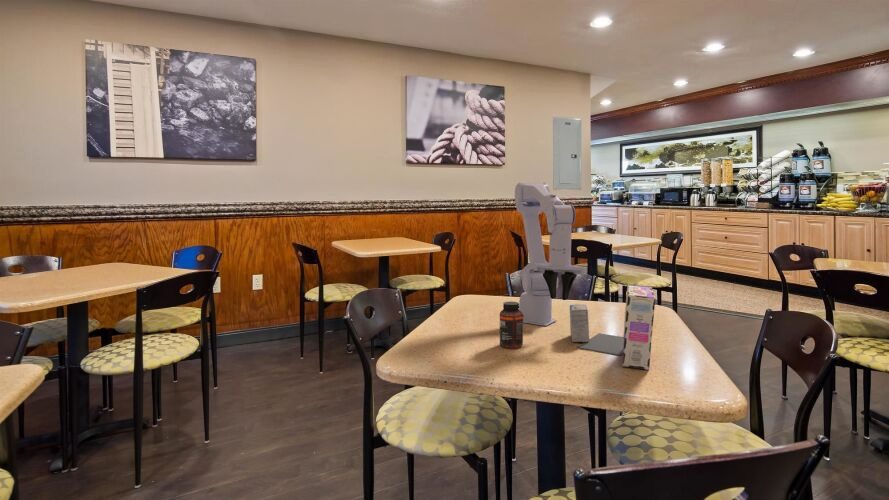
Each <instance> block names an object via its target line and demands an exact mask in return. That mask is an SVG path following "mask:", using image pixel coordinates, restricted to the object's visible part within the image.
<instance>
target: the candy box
mask: <svg viewBox="0 0 889 500" xmlns="http://www.w3.org/2000/svg"><path fill="white" fill-rule="evenodd" d="M626 288H627V289H626V298H625V310H624V312H625V313H624V324H623V325H624V326H623V337H624V338H623V355H622V367H627V368H628V367H629V368H634V369H640V370H646V371H648V370H650V364H651V352H652V351H651V350H652V339H653V338H652V336H653V326H654V320H655V319H654V316H655V308H656V306H655V305H656V296H655V293H654V291H653V287H651V286H643V285H642V286H641V285H630V284H627V287H626Z"/></svg>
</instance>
